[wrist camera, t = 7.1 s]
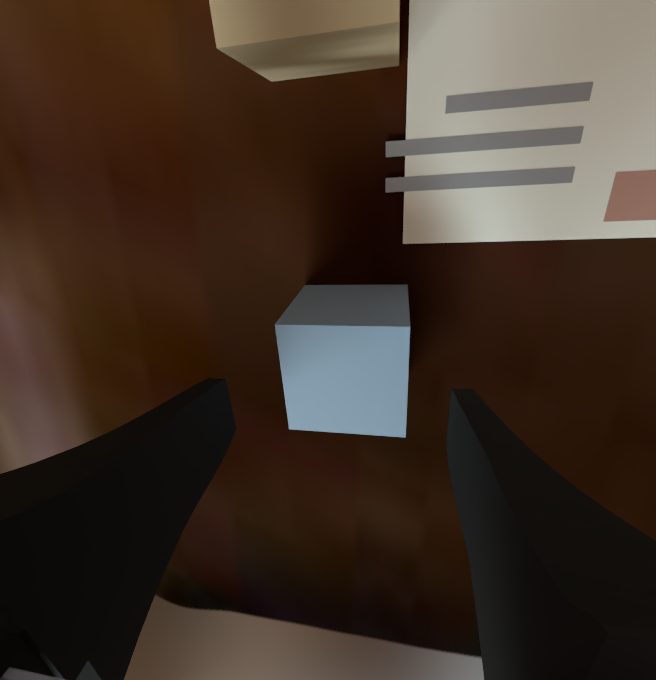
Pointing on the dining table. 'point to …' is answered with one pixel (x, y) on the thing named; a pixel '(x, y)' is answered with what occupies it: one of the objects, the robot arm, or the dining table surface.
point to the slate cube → (346, 359)
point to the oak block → (308, 35)
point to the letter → (529, 121)
